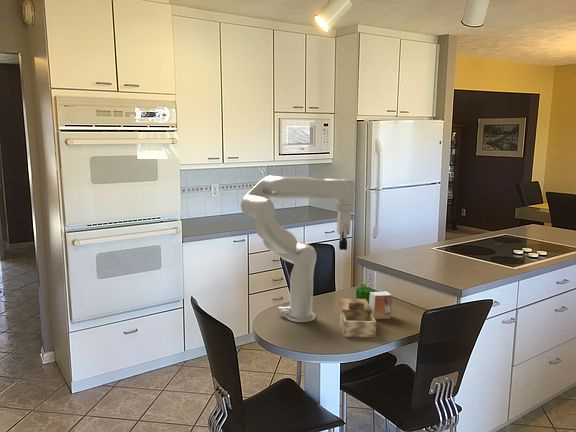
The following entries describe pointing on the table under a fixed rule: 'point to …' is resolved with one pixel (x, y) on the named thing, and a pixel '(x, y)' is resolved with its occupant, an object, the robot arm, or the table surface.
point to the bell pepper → (364, 292)
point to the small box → (380, 304)
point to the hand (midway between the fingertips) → (342, 249)
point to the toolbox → (358, 324)
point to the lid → (354, 305)
